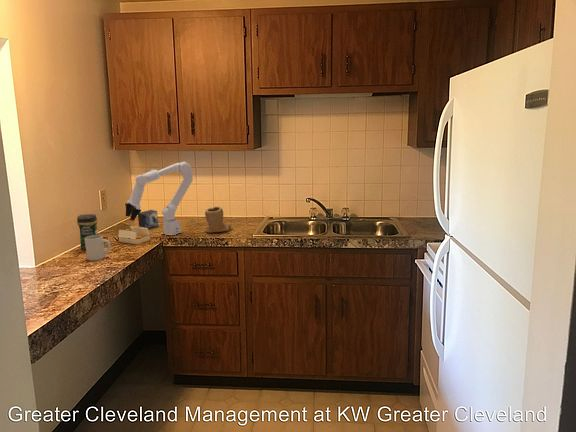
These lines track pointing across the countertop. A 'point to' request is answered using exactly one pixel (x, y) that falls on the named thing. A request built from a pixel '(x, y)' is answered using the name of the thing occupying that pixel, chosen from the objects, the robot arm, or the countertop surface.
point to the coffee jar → (87, 227)
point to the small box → (148, 219)
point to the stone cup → (216, 220)
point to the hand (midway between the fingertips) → (129, 218)
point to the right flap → (140, 230)
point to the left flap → (127, 234)
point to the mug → (96, 247)
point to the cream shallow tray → (135, 241)
